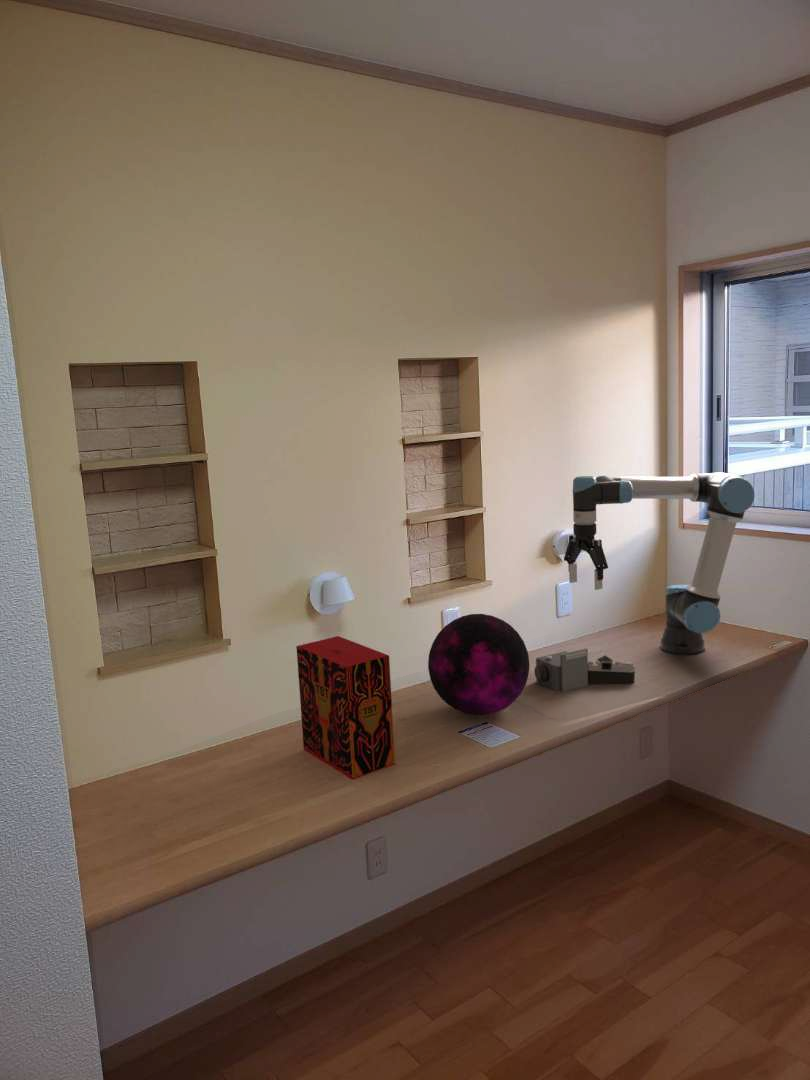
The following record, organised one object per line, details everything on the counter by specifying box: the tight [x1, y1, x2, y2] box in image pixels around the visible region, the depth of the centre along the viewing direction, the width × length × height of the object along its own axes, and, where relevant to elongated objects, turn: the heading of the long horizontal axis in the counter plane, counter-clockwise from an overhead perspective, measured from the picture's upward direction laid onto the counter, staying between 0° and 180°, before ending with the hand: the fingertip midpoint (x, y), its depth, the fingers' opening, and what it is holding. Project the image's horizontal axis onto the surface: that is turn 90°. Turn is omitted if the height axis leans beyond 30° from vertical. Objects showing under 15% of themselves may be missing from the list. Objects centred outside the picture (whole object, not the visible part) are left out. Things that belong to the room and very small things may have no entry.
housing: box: [534, 651, 569, 692], centre depth 284 cm, size 14×11×10 cm
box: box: [295, 635, 396, 780], centre depth 236 cm, size 25×13×30 cm, turn 36°
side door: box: [560, 648, 589, 693], centre depth 279 cm, size 10×2×13 cm, turn 118°
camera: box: [588, 655, 636, 685], centre depth 285 cm, size 16×9×10 cm, turn 83°
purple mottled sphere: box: [427, 613, 530, 716], centre depth 264 cm, size 30×30×30 cm
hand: (585, 585), depth 298 cm, fingers open, 12 cm apart
